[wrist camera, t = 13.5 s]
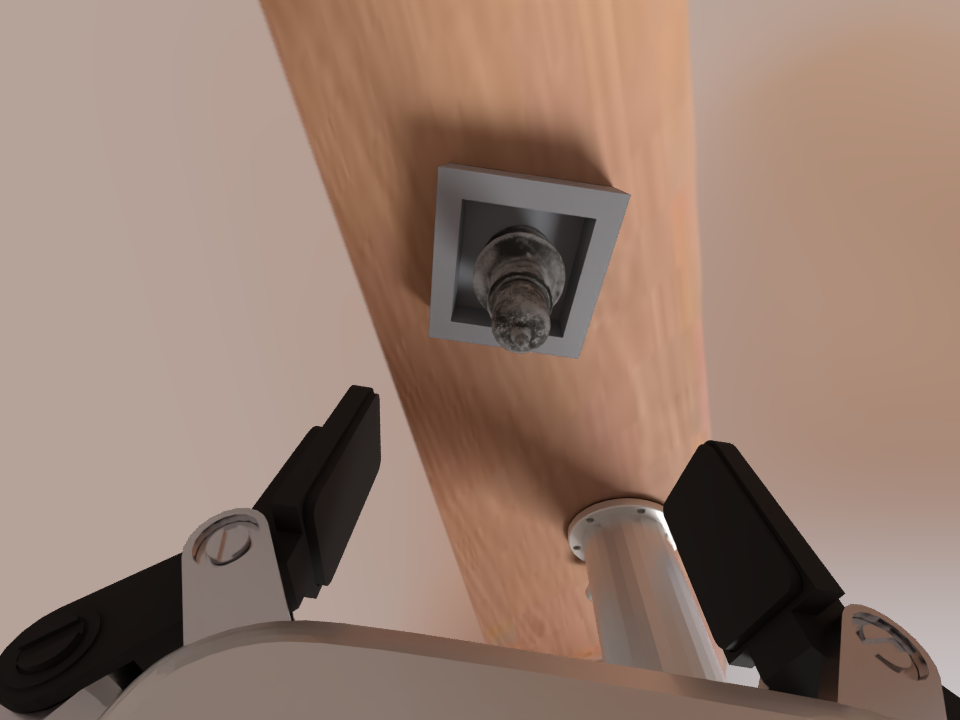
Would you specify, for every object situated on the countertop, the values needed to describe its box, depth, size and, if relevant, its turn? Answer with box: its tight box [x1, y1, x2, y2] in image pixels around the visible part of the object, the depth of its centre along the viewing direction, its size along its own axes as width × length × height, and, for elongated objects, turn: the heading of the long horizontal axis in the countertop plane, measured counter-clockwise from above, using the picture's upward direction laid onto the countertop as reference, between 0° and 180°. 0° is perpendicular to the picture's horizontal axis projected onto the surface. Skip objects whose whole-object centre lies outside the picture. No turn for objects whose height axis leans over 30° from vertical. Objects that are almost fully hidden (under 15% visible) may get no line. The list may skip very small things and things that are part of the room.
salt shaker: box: [472, 225, 565, 353], centre depth 21 cm, size 6×6×12 cm
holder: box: [429, 163, 631, 359], centre depth 25 cm, size 11×11×4 cm
